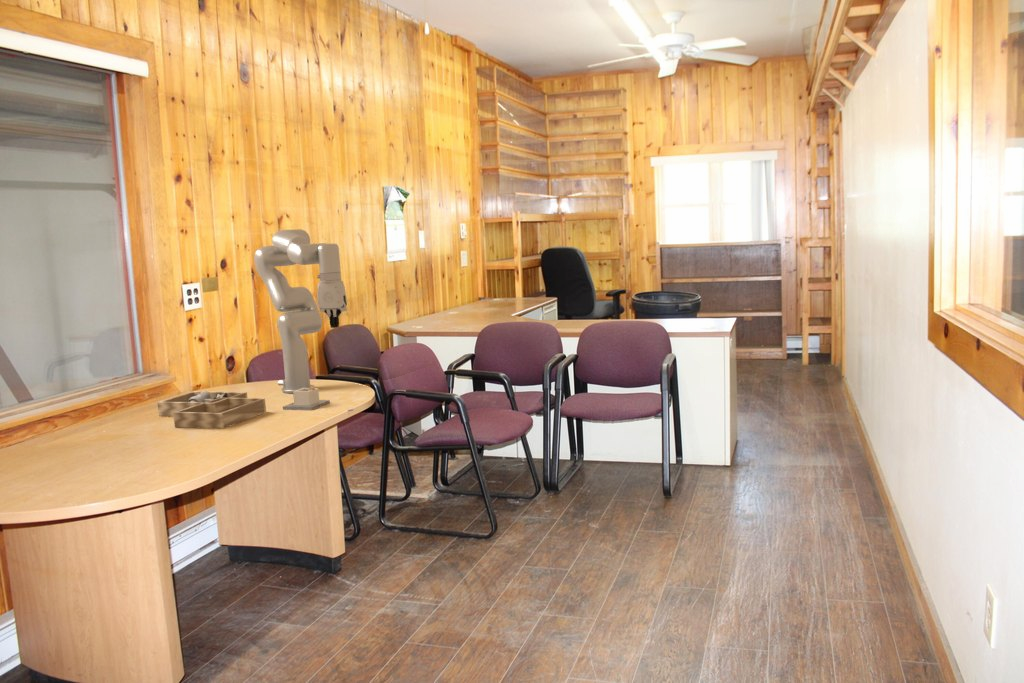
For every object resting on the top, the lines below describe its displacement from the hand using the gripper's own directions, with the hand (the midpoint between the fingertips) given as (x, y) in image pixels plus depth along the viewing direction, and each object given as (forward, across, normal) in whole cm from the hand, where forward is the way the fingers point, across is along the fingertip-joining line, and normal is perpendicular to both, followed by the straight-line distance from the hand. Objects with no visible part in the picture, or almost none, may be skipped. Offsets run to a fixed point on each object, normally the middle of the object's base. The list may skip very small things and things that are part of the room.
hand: (334, 327), depth 306 cm
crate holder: (+27, -43, -23) cm, 56 cm away
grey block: (+26, -7, -12) cm, 30 cm away
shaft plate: (+27, -7, -12) cm, 30 cm away
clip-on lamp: (+27, -43, -23) cm, 56 cm away
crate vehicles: (+27, -26, -35) cm, 51 cm away
